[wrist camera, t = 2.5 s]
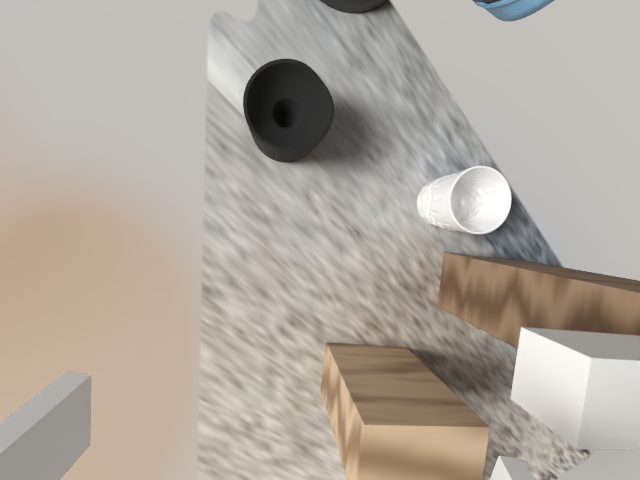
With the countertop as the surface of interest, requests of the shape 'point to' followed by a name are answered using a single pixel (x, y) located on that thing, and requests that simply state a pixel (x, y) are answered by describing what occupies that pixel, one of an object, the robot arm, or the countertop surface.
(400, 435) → the wooden block
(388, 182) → the countertop surface
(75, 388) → the robot arm
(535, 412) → the teal and white bar
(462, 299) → the tall block
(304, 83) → the pen holder
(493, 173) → the white cup
